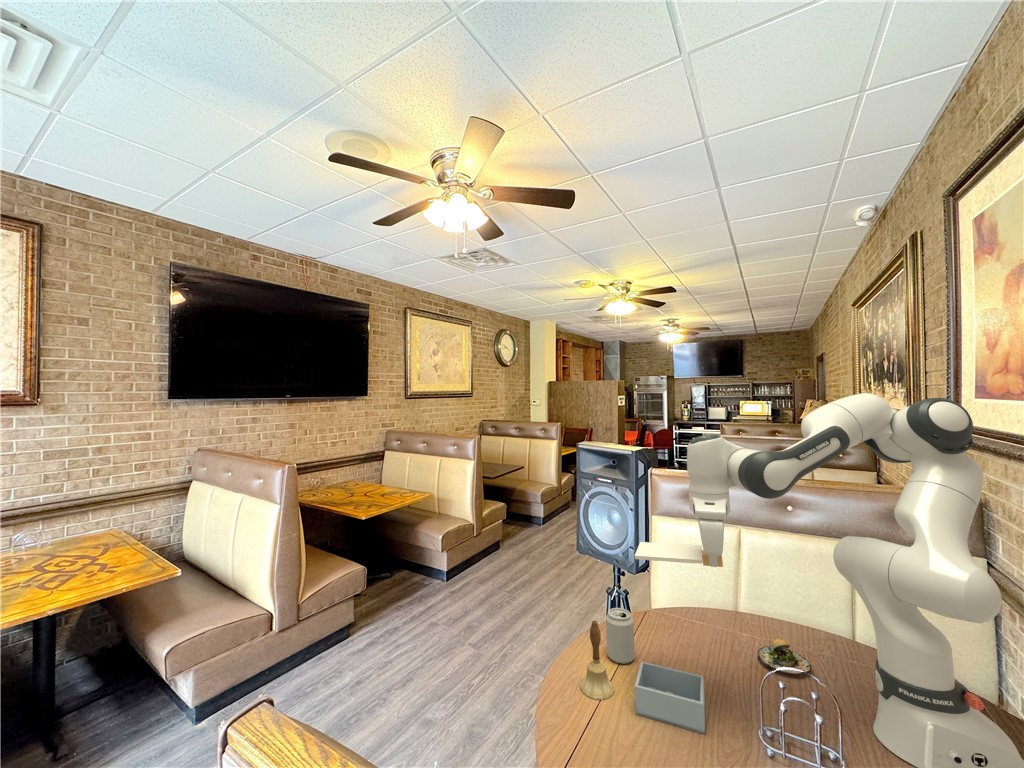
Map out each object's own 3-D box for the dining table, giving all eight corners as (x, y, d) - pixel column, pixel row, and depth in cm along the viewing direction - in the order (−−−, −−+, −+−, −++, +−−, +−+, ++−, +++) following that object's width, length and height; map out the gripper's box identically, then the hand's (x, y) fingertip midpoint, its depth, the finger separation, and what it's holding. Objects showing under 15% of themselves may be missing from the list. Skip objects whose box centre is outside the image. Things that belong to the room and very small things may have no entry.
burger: (760, 673, 104) (758, 643, 104) (755, 648, 115) (753, 621, 115) (817, 685, 99) (815, 654, 99) (806, 658, 110) (804, 630, 110)
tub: (704, 703, 93) (703, 676, 94) (704, 734, 84) (703, 704, 85) (642, 686, 99) (641, 661, 100) (635, 714, 90) (634, 686, 91)
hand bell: (617, 701, 95) (614, 630, 96) (581, 699, 95) (579, 629, 97) (611, 677, 103) (609, 613, 104) (579, 676, 104) (577, 612, 105)
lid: (721, 556, 100) (720, 546, 100) (724, 573, 90) (722, 561, 90) (641, 551, 108) (640, 541, 108) (635, 566, 98) (634, 555, 98)
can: (636, 667, 107) (634, 620, 108) (607, 664, 108) (605, 618, 109) (633, 650, 114) (632, 607, 115) (606, 648, 116) (605, 605, 117)
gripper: (694, 493, 107) (698, 546, 107) (694, 512, 89) (698, 576, 88) (721, 495, 105) (724, 549, 104) (727, 514, 86) (731, 580, 85)
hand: (712, 562), depth 96 cm, fingers closed on lid, 3 cm apart
